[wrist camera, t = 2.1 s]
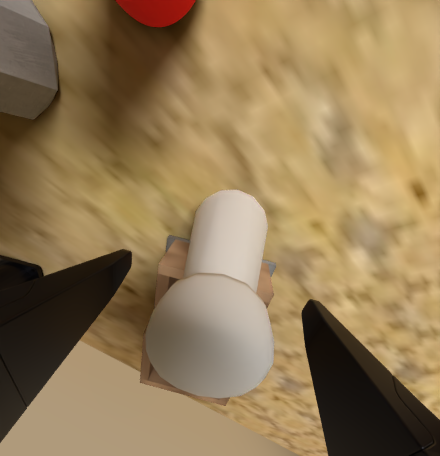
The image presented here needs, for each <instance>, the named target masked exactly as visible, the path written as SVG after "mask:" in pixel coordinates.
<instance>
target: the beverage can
mask: <svg viewBox="0 0 440 456" xmlns="http://www.w3.org/2000/svg"><path fill="white" fill-rule="evenodd" d="M115 1H116V2H117V3H118V4H119V5H120V6H121V7H122V8H123V9H124V11H125V12H127V13H128V14H129V15H130V16H131V17H132V18H134V19H135V20H137V21H138V22H140V23H142V24H145V25H148V26H151V27H164V26H168V25H171V24H173V23H175V22H177V21H178V20H180V19H181V18H182V17H183V16H185V15H186V13H187V12H188V11H189V10H190V8H191V7H192V6H193V4H194V2H195V1H196V0H115Z"/></svg>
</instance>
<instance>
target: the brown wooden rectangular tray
mask: <svg viewBox="0 0 440 456" xmlns="http://www.w3.org/2000/svg"><path fill="white" fill-rule="evenodd" d="M189 244H190V240H187V239H183V238H179V237H176V236H172V235H169V236H168V238H167V246H166V254H165V255H164V257H163V258H162V259H161V261H160V262H159V264H158V274H157V283H156V293H155V303H154V309H155V307H156V306H157V304H158V302H159V301H160V299H161V298H162V297H163V296H164V295H165V293H166V292H167V291H168V290H169V289H170V287H171V286H172V285H173V284H174V283H175V282H177V281H178V280H180V279H183V276H184V270H185V265H186V260H187V255H188V250H189ZM275 268H276V263H273V262H270V261H266V260H262V263H261V269H260V275H259V280H258V286H257V292H256V294H257V295H258V296H259V297H260V298H261V299H262V300H263V302H264V304H265V305H266V309H267V307H268V305H269V303H270V301H271V299H272V297H273V295H274V293H273V287H272V282H271V276H272V274H273V272H274V270H275ZM147 327H148V326H147ZM147 327H146V329H145V331H144V334H143V348H142V362H141V375H140V383H144V384H147V385H150V386H154V387H158V388H161V389H165V390H169V391H173V392H176V393H180V394H183V395H187V396H191V397H194V398H198V399H202V400H205V401H209V402H213V403H216V404H220V405H224V406H226V404H227V402H228V400H229V398H230V397H228V398H212V397H203V396H197V395H194V394H191V393H189V392H186V391H183V390H181V389H178V388H176V387H175V386H173V385H172V384H170V383H169V382H167V381H166V380H164V379H163V378H161V377H160V376H159V374H158V373H157V371H156V370H155V368H154V367H153V365H152V364H151V362H150V360H149V357H148V354H147V352H146V330H147Z"/></svg>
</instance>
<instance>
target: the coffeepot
mask: <svg viewBox="0 0 440 456" xmlns="http://www.w3.org/2000/svg"><path fill="white" fill-rule="evenodd" d="M57 91H58V64H57V58H56V53H55V48H54V45H53V42H52V39H51V36H50V32H49V27H48V25H47V24H46V22H45V20H44V19H43V17H42V16H41V14H40V13H39V11H38V9H37V8H36V6H35V5H34V3H33V2H32V0H0V112H3V113H8V114H12V115H16V116H20V117H24V118H28V119H32V120H34V119H35V118H36V117H37V116H39V115H40V114H41V113H42V112H43V111H44V110H45V109H46V108H47V107H49V105H50V104H51V102H52V100H53V99H54V96H55V93H56V92H57Z"/></svg>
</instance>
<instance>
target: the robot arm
mask: <svg viewBox="0 0 440 456" xmlns="http://www.w3.org/2000/svg"><path fill="white" fill-rule="evenodd" d="M131 265H132V252H131V251H129V250H125V249H122V250H119V251H116V252H113V253H110V254H107V255H104V256H101V257H98V258H95V259H93V260H90V261H87V262H84V263H81V264H78V265H75V266H72V267H69V268H67V269H64V270H61V271H58V272H55V273H52V274H49V275H46V276H42V272H41V269H40V267H39V266H37V265H34V264H30V263H26V262H23V261H19V260H15V259H12V258H8V257H4V256H0V443H1V441H2V440H3V439H4V437H5V436H6V435H7V434H8V432H9V431H10V430H11V428H12V427H13V426H14V424H15V423H16V422H17V420H18V419H19V418H20V417H21V415H22V414H23V413H24V411H25V410H26V409H27V407H28V406H29V405H30V403H31V402H32V401H33V399H34V398H35V397H36V396H37V394H38V393H39V392H40V390H41V389H42V388H43V386H44V385H45V384H46V383H47V381H48V380H49V379H50V378H51V376H52V375H53V374H54V372H55V371H56V370H57V368H58V367H59V366H60V365H61V363H62V362H63V361H64V359H65V358H66V357H67V355H68V354H69V353H70V351H71V350H72V349H73V348H74V346H75V345H76V344H77V342H78V341H79V340H80V339H81V337H82V336H83V335H84V333H85V332H86V331H87V330H88V328H89V327H90V326H91V324H92V323H93V322H94V321H95V319H96V318H97V317H98V315H99V314H100V313H101V311H102V310H103V309H104V308H105V306H106V305H107V304H108V302H109V301H110V300H111V298H112V297H113V296H114V294H115V293H116V291H117V289H118V288H119V286H120V285H121V283H122V281H123V280H124V278H125V276H126V275H127V273H128V272H129V270H130V268H131ZM302 323H303V332H304V341H305V348H306V353H307V358H308V362H309V367H310V372H311V376H312V381H313V386H314V390H315V395H316V400H317V404H318V409H319V414H320V418H321V423H322V428H323V432H324V437H325V442H326V446H327V451H328V456H440V420H439V419H438V418H437V417H436V416H435V415H434V414H433V413H432V412H431V411H430V410H429V409H427V408H426V407H425V406H424V405H423V404H422V403H421V402H420V401H419V400H418V399H417V398H416V397H415V396H414V395H413V394H412V393H411V392H410V391H409V390H408V389H407V388H406V387H405V386H404V385H403V384H402V383H401V382H400V381H399V380H398V379H397V378H396V377H395V376H393V375H392V374H391V372H390V371H389V370H388V369H387V368H386V367H385V366H384V365H383V364H381V363H380V362H379V361H378V360H377V359H376V358H375V357H374V356H373V355H372V354H371V353H370V352H369V351H368V350H367V349H366V348H365V347H364V346H363V345H362V344H361V343H360V342H359V341H358V340H357V339H356V338H355V337H354V336H353V335H352V334H351V333H350V332H349V331H348V330H347V329H346V328H345V327H344V326H343V325H342V324H341V323H340V322H339V321H338V320H337V319H336V318H335V317H334V316H333V315H332V314H331V313H330V312H329V311H328V310H327V309H326V308H325V307H324V306H323V305H322V304H321V303H320V302H319V301H316V300H313V299H310V300H309V301H308V302H307V304H306V305H305V307H304V308H303V310H302Z"/></svg>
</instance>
